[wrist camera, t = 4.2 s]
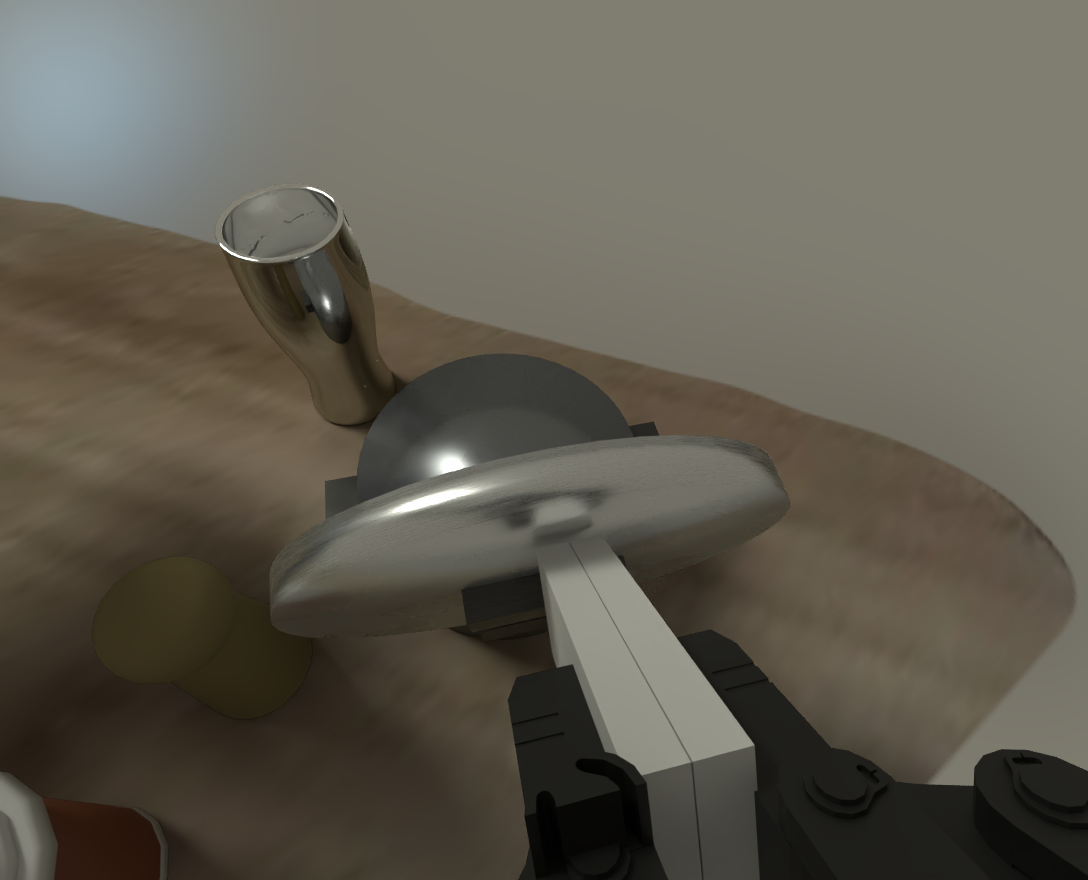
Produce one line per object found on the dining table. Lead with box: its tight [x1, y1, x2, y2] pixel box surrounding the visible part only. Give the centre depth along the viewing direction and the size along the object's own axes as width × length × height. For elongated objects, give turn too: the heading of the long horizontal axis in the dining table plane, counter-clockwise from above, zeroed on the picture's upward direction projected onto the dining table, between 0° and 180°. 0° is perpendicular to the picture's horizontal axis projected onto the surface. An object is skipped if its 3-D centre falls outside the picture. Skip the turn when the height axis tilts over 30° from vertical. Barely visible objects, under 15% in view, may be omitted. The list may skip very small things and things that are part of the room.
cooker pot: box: [325, 354, 659, 642], centre depth 33 cm, size 16×19×8 cm
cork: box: [92, 556, 313, 719], centre depth 27 cm, size 6×6×11 cm
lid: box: [269, 435, 790, 638], centre depth 18 cm, size 16×16×2 cm
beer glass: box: [215, 184, 396, 425], centre depth 35 cm, size 7×7×15 cm
